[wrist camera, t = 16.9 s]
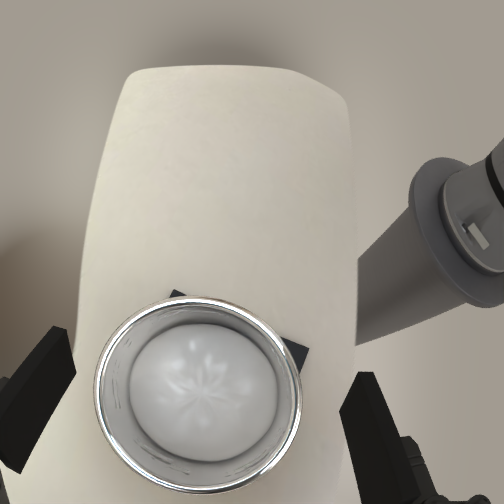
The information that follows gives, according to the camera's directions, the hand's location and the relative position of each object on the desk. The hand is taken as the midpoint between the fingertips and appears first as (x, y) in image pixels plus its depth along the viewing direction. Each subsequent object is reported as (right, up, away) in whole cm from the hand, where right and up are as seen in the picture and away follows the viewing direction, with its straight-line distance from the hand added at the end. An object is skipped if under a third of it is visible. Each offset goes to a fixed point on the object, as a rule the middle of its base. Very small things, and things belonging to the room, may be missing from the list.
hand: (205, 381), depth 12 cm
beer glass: (-1, -5, +10) cm, 11 cm away
